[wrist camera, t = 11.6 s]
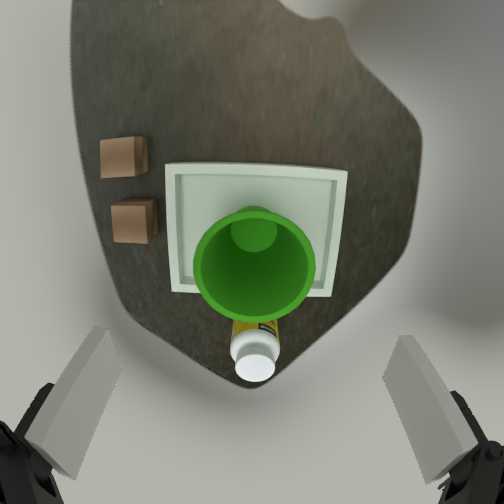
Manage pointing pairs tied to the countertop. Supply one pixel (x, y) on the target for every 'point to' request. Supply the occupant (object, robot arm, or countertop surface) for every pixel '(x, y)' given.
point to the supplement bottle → (255, 349)
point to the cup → (254, 265)
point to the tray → (253, 194)
